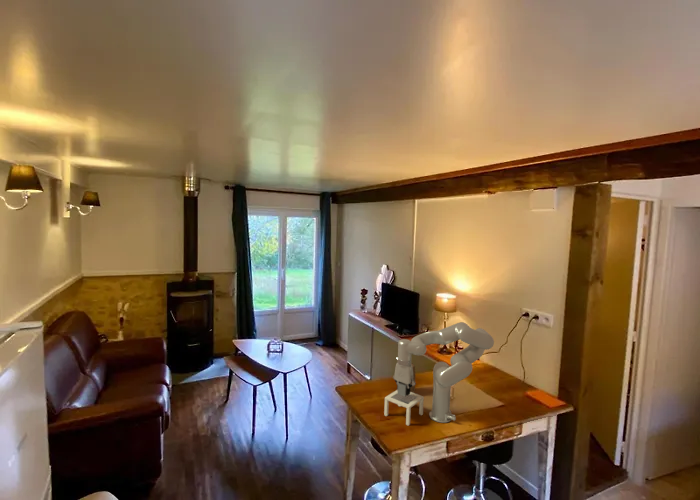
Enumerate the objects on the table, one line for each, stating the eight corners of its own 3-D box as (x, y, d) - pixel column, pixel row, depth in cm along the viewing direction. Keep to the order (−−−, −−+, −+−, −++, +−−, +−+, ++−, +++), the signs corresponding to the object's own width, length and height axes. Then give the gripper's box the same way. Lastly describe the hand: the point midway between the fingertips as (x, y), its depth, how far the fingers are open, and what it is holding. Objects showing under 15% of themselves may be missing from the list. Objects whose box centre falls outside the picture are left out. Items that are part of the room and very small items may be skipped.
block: (415, 395, 237) (416, 365, 235) (405, 397, 234) (406, 366, 232) (406, 388, 247) (407, 359, 245) (396, 390, 244) (398, 360, 242)
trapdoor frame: (422, 414, 215) (423, 396, 214) (408, 425, 202) (409, 407, 201) (399, 404, 225) (399, 388, 224) (384, 415, 213) (384, 397, 212)
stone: (405, 396, 208) (405, 386, 207) (397, 393, 211) (397, 383, 210) (409, 393, 212) (410, 383, 211) (402, 390, 215) (402, 380, 214)
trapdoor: (416, 398, 213) (416, 397, 213) (407, 404, 206) (407, 403, 206) (401, 392, 220) (401, 391, 220) (391, 398, 212) (391, 397, 212)
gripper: (388, 359, 212) (387, 390, 214) (414, 367, 201) (413, 400, 203) (395, 356, 218) (394, 386, 220) (421, 363, 207) (420, 395, 209)
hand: (403, 392), depth 211 cm, fingers closed on stone, 5 cm apart
